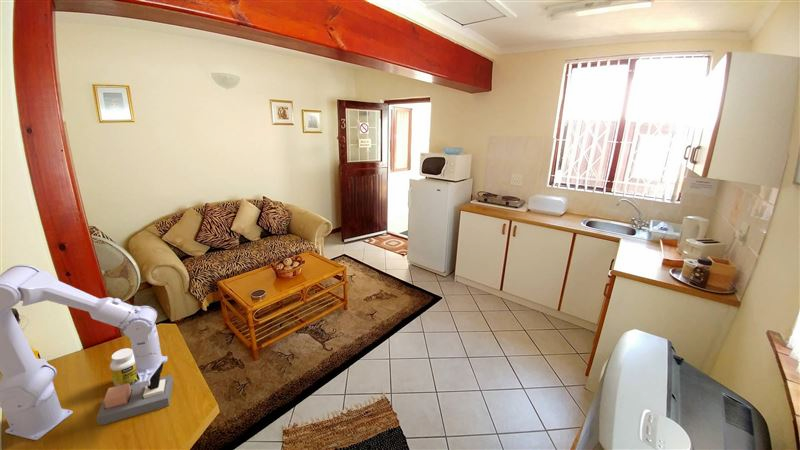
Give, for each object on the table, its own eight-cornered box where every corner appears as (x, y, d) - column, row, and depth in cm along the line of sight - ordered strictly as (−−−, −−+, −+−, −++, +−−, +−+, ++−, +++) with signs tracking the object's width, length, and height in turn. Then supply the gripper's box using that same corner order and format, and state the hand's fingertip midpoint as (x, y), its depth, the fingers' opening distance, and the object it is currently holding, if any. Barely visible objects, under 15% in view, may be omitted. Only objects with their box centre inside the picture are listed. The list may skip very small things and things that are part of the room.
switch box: (99, 425, 80) (96, 417, 79) (109, 398, 88) (107, 390, 87) (169, 405, 88) (167, 397, 87) (173, 382, 95) (171, 374, 94)
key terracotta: (106, 409, 82) (103, 400, 81) (111, 396, 86) (108, 388, 85) (127, 403, 84) (125, 395, 83) (131, 391, 88) (129, 383, 87)
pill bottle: (126, 393, 90) (119, 363, 86) (109, 387, 91) (101, 358, 87) (146, 377, 96) (141, 348, 92) (130, 372, 97) (124, 344, 93)
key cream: (145, 403, 86) (143, 395, 85) (148, 391, 90) (146, 383, 89) (164, 398, 89) (162, 390, 88) (166, 387, 92) (165, 378, 91)
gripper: (160, 363, 80) (167, 402, 84) (168, 329, 92) (174, 365, 96) (125, 371, 76) (134, 411, 81) (138, 335, 88) (146, 371, 93)
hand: (154, 386), depth 88 cm, fingers closed
